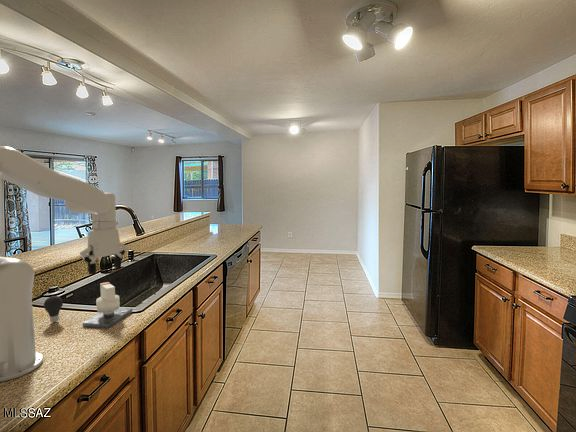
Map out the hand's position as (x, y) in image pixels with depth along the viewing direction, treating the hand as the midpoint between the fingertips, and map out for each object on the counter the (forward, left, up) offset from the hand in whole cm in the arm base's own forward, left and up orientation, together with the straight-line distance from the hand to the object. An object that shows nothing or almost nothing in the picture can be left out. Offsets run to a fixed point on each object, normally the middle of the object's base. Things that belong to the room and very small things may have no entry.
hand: (105, 270), depth 113 cm
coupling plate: (+1, 0, -19) cm, 19 cm away
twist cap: (+1, 0, -15) cm, 15 cm away
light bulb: (-4, +18, -20) cm, 27 cm away
